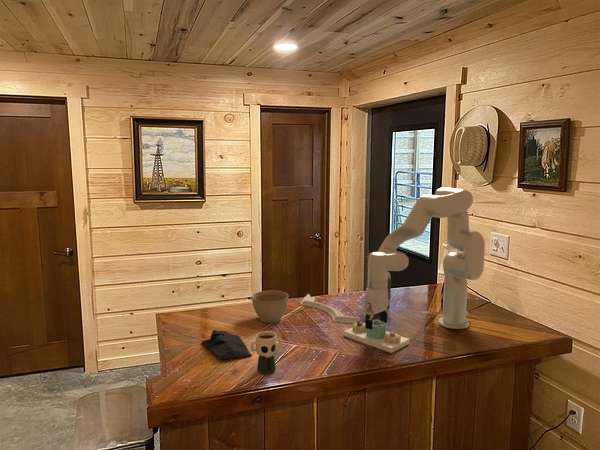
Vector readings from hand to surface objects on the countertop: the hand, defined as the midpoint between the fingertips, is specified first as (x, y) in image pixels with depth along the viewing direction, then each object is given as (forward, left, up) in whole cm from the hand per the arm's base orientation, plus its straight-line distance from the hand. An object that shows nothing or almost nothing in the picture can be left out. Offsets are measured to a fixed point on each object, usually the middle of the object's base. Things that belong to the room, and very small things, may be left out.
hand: (376, 325), depth 187 cm
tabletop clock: (-31, -21, -6) cm, 38 cm away
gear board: (0, 0, -6) cm, 6 cm away
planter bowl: (+15, -47, -6) cm, 49 cm away
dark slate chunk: (+47, -35, -7) cm, 59 cm away
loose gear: (0, 0, -4) cm, 4 cm away
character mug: (+49, -10, -6) cm, 50 cm away
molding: (-13, -36, -7) cm, 39 cm away
